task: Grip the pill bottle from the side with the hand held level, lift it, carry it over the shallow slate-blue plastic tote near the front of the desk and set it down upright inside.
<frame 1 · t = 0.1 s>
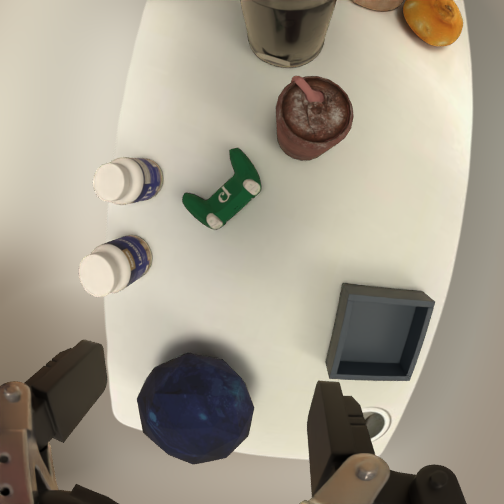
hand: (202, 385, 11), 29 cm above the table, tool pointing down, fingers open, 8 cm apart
pill bottle: (134, 255, 41), on the table
pill bottle 2: (145, 179, 38), on the table
fruit: (407, 15, 30), point 1 cm above the table
green curved piece: (225, 190, 38), on the table
can: (302, 134, 36), on the table
decorative orb: (206, 378, 44), on the table
bin: (375, 328, 40), on the table
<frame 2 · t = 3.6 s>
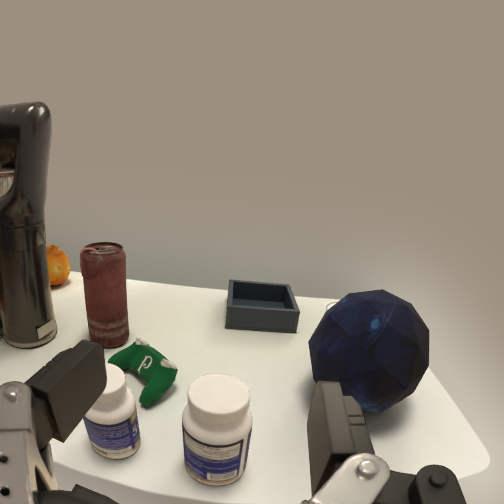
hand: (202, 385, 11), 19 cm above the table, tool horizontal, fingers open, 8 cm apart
pill bottle: (214, 465, 25), on the table
pill bottle 2: (115, 440, 25), on the table
fruit: (43, 285, 54), point 1 cm above the table
green curved piece: (143, 382, 35), on the table
can: (108, 339, 43), on the table
decorative orb: (353, 397, 37), on the table
bin: (259, 314, 57), on the table
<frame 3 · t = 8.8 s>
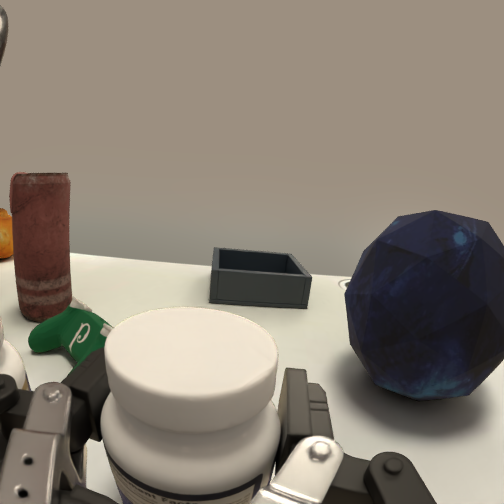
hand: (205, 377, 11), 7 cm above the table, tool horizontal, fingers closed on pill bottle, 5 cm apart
pill bottle 2: (13, 458, 10), on the table
green curved piece: (79, 368, 20), on the table
can: (45, 312, 28), on the table
decorative orb: (410, 384, 23), on the table
bin: (254, 289, 43), on the table
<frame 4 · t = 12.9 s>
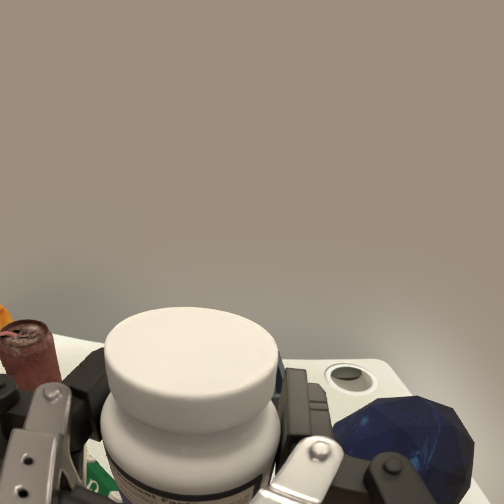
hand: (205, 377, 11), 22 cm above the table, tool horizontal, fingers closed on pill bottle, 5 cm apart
can: (52, 434, 27), on the table
bin: (241, 393, 42), on the table
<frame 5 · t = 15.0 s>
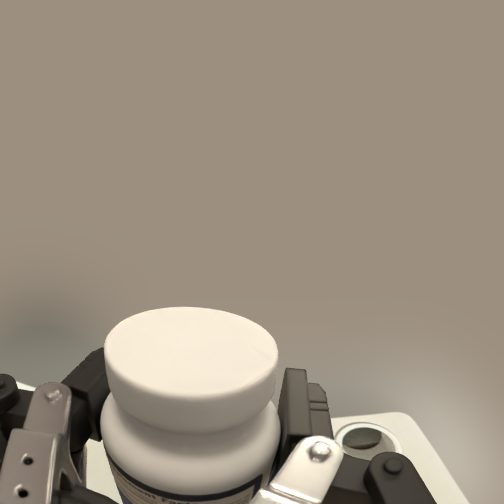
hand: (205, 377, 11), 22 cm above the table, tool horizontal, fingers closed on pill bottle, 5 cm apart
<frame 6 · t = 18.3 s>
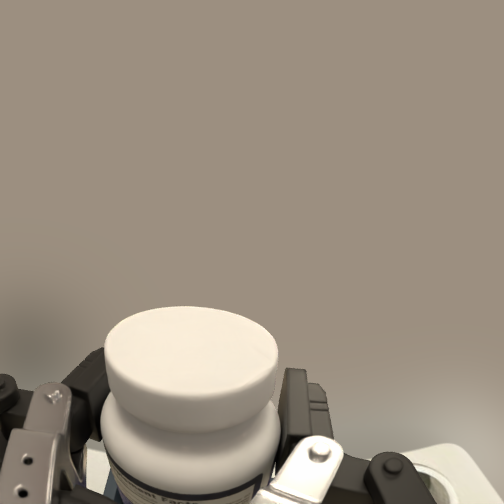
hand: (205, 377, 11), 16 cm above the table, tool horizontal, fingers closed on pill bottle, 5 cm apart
when the fingers open (8 cm above the table, at t = 21.0 s): pill bottle stays where it is, resting on bin.
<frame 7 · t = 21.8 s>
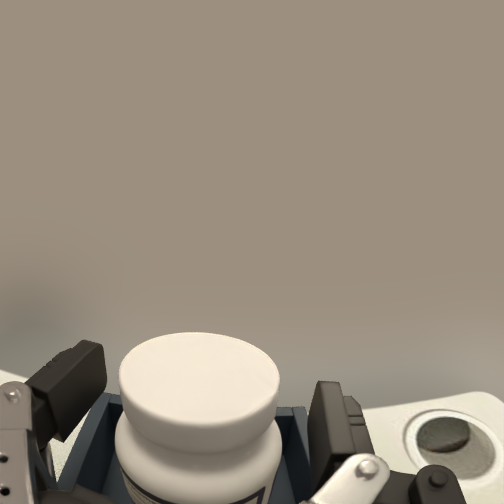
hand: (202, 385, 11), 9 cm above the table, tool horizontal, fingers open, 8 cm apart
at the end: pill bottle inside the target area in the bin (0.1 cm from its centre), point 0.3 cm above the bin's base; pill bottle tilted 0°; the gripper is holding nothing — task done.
